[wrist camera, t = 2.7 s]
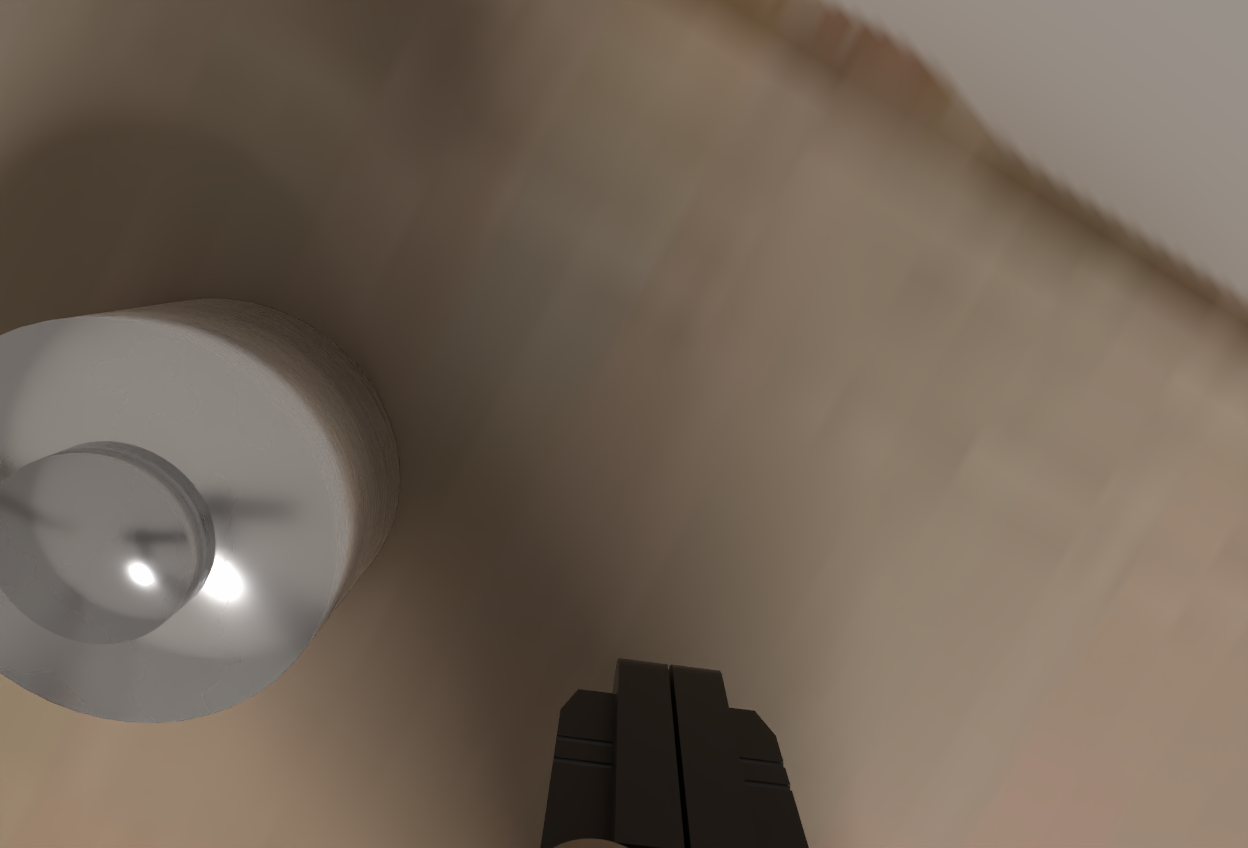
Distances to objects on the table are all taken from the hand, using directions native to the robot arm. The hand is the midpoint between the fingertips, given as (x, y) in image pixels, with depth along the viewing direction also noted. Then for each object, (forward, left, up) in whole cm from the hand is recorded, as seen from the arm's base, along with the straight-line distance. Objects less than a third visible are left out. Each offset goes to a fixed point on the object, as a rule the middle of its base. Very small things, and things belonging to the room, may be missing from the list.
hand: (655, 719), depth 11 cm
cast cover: (+11, 0, -10) cm, 15 cm away
